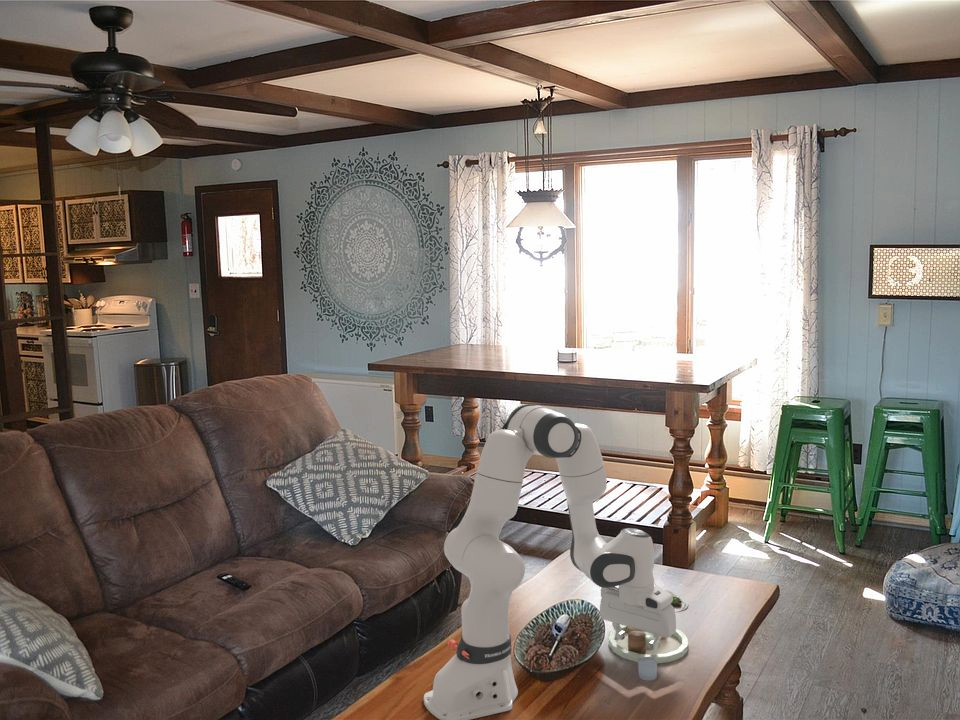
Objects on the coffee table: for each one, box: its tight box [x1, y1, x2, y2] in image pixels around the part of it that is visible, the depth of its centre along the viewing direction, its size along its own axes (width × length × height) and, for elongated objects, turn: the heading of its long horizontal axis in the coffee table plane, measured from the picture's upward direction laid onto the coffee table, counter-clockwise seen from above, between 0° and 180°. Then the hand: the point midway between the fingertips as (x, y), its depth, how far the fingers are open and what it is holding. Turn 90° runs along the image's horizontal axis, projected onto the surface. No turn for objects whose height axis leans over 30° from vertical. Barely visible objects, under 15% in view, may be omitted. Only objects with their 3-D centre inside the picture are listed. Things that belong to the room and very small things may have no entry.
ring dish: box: [608, 624, 689, 664], centre depth 220 cm, size 20×20×4 cm
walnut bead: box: [628, 631, 646, 654], centre depth 216 cm, size 4×4×5 cm
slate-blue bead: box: [637, 657, 658, 682], centre depth 204 cm, size 4×4×5 cm
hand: (637, 643), depth 215 cm, fingers open, 8 cm apart
